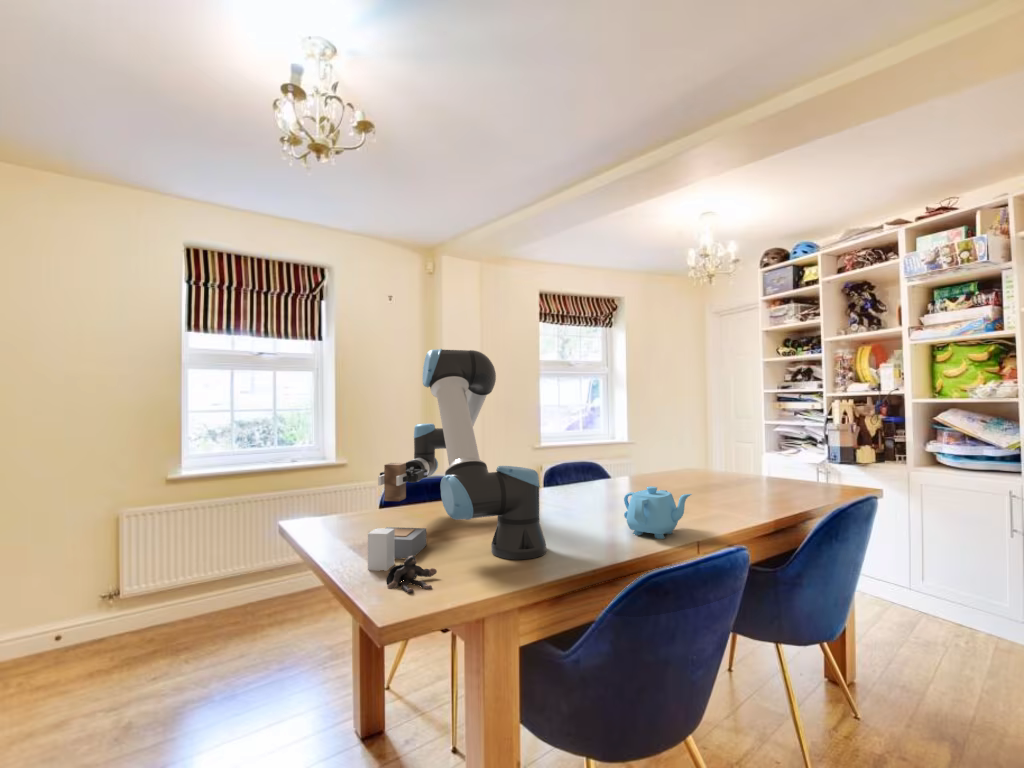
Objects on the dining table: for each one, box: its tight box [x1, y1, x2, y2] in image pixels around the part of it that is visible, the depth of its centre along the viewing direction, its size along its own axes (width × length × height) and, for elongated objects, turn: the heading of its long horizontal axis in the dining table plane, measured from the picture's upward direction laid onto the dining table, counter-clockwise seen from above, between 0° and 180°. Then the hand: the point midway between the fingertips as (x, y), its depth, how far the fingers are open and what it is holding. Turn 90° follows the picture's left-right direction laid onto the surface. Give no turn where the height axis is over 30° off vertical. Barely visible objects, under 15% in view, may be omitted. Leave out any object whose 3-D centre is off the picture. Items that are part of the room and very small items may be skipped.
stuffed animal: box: [385, 555, 438, 594], centre depth 115 cm, size 12×10×12 cm
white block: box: [367, 527, 396, 572], centre depth 125 cm, size 5×5×9 cm
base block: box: [384, 526, 427, 559], centre depth 138 cm, size 12×12×5 cm
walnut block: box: [383, 462, 407, 502], centre depth 154 cm, size 5×5×11 cm
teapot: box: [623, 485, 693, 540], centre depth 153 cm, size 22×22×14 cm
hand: (388, 481), depth 149 cm, fingers closed on walnut block, 5 cm apart
